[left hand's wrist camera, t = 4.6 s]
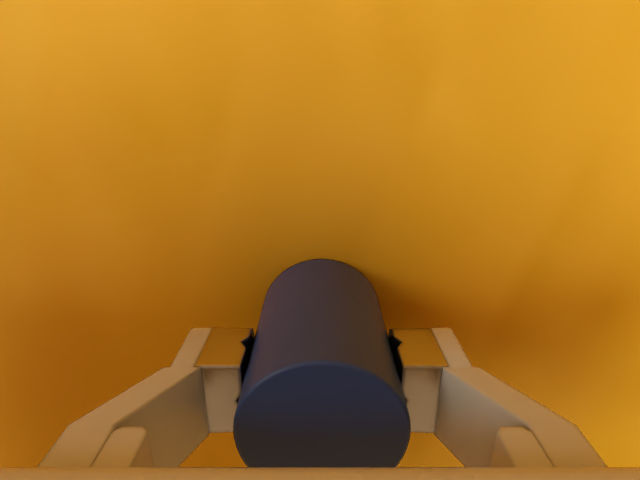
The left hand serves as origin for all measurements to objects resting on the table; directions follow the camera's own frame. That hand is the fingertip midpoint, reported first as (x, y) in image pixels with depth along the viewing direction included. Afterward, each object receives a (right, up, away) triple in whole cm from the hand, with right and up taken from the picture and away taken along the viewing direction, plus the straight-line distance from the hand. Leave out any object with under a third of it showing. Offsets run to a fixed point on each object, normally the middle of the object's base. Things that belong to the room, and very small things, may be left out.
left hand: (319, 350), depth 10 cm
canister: (0, +1, +2) cm, 2 cm away
